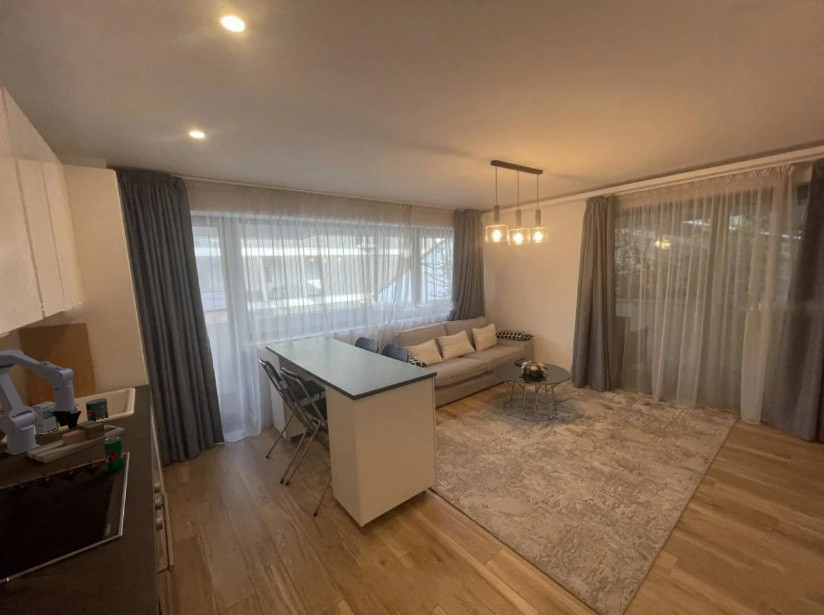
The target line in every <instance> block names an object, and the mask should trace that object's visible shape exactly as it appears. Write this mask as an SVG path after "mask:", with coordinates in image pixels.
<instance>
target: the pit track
mask: <svg viewBox="0 0 824 615" xmlns="http://www.w3.org/2000/svg"><path fill="white" fill-rule="evenodd" d="M81 428H84V429H86V432H87V439H85V440H82V441H79V442H76V443H73V444H70V445H66V444H63V440H62V439H60V440H57V441H54V442H51V443H48V444H45V445H41V446H40V447H37V448H34V449H31V450H28V451H25V452H26V456H27V457H29V458H31V459H33V460H36V461H38V462H41V463H44V464H47V463H50V462H52V461H55V460H58V459H61V458H63V457H66V456H69V455H71V454H74V453H77V452H80V451H82V450H85V449H88V448H90V447H94V446H96V445H98V444H101V443H104V442H105V439H107V438H110V437H113V436H119V435H121V436H123V435H126V434H127V429H126V428H122V427H119V426H115V425H111V424H104V422H102V423H100V422H96V421H92V420H88V419H87V420H85V421H82V422H80V423H77V427H76V428H75V430H78V429H81ZM109 430H112V431H109ZM107 431H109V432H107ZM105 432H107V433H105ZM125 433H126V434H125ZM122 434H123V435H122Z"/></svg>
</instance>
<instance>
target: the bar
mask: <svg viewBox="0 0 824 615" xmlns="http://www.w3.org/2000/svg"><path fill="white" fill-rule="evenodd" d="M61 437H62V438H61V440H63V444H66V445H70V444H73V443H76V442H79V441H82V440H85V439H87V432H86V429H84V428H81V429H78V430H76V429H74V430H72V431H69V432H65V433H62V434H61Z"/></svg>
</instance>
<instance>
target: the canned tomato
mask: <svg viewBox="0 0 824 615" xmlns="http://www.w3.org/2000/svg"><path fill="white" fill-rule="evenodd" d="M85 409H86V418H87V421H88V420H92V421H96V420H99V419H104V418H109V412H108V401H107V398H106V397H105V398H95V399H91V400H89V401H87V402H85Z"/></svg>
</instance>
